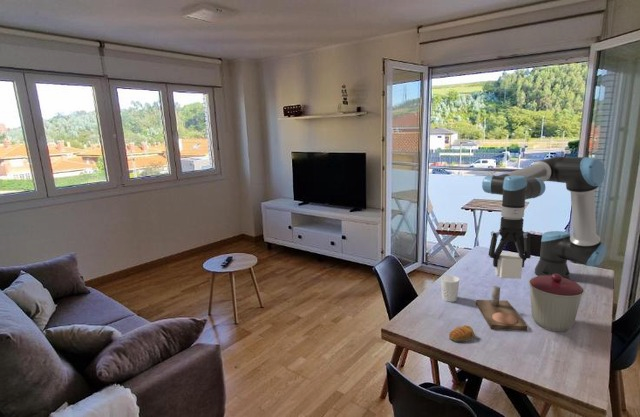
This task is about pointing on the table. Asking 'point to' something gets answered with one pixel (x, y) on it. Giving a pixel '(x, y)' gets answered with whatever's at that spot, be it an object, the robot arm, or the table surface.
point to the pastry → (462, 334)
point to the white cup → (449, 287)
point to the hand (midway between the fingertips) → (507, 274)
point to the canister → (554, 301)
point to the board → (500, 313)
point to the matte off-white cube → (510, 266)
